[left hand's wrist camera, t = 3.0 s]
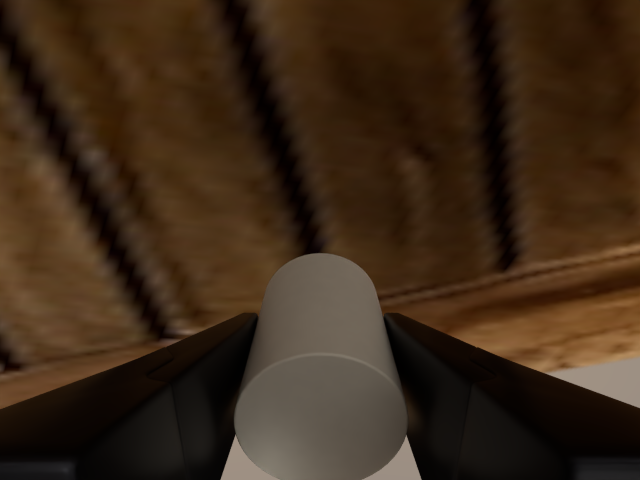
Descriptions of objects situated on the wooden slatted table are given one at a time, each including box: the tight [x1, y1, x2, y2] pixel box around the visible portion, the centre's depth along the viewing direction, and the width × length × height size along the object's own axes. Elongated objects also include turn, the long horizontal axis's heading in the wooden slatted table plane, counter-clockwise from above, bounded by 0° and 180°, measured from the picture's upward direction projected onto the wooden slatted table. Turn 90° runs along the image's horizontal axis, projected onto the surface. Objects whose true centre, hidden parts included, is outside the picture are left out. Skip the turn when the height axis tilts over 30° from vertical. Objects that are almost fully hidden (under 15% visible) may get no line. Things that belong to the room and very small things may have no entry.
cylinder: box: [234, 253, 408, 480], centre depth 11 cm, size 4×4×5 cm
